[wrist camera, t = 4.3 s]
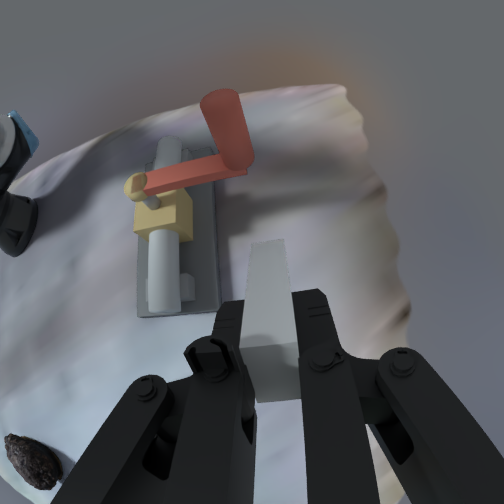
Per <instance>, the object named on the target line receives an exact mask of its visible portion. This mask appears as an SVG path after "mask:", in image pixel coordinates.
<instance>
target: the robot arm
mask: <svg viewBox="0 0 504 504" xmlns="http://www.w3.org/2000/svg"><path fill="white" fill-rule="evenodd" d="M38 146H39V140H38V138H37V137H36V136H35V135H34V133H33V132H32V131H31V130H30V128H29V127H28V126H27V124H26V123H25V122H24V121H23V119H22V118H21V117H20V115H19V114H18V113H17V112H16V111H15V110H12V111H11V112H10V113H8V114H7V116H6V115H3V114H2V115H0V248H1V249H2V250H3V251H4V252H5V253H6V254H8V255H10V256H12V257H15V256H18V255H19V254H20V253H21V252H22V251H23V250H24V248H25V247H26V245H27V244H28V242H29V240H30V238H31V236H32V233H33V231H34V228H35V225H36V221H37V214H38V208H37V204H36V202H35V201H33V200H32V199H31V198H29V197H25V196H20V195H15V194H11V193H9V192H8V191H7V189H8V188H9V186H10V185H11V183H12V182H13V180H14V179H15V178H16V176H17V175H18V173H19V172H20V170H21V169H22V168H23V166H24V165H25V164H26V162H27V161H28V160H29V159H30V158H31V157H32V156H33V153H34V152H35V150H36V149H37V148H38ZM183 354H184V356H185V358H186V360H187V362H188V364H189V366H190V368H191V369H192V371H193V375H191V376H190V377H187V378H184V379H181V380H177V381H173V382H169V383H166V382H165V380H164V379H163V378H162V377H160V376H158V375H146V376H142V377H140V378H138V379H137V380H135V381H134V382H133V383H132V384H131V385H130V386H129V388H128V389H127V391H126V392H125V393H124V395H123V396H122V398H121V399H120V400H119V402H118V403H117V405H116V406H115V408H114V409H113V410H112V412H111V413H110V415H109V416H108V418H107V419H106V421H105V422H104V423H103V425H102V426H101V428H100V429H99V431H98V432H97V434H96V435H95V437H94V438H93V440H92V441H91V442H90V444H89V445H88V447H87V448H86V450H85V451H84V453H83V454H82V456H81V457H80V459H79V460H78V462H77V463H76V465H75V466H74V468H73V469H72V471H71V472H70V474H69V475H68V477H67V478H66V480H65V481H64V483H63V485H62V486H61V488H60V489H59V491H58V492H57V494H56V495H55V497H54V498H53V500H52V502H51V503H50V504H253V497H254V477H255V456H256V433H257V415H256V411H255V408H254V406H255V398H256V401H257V403H263V402H275V401H285V400H294V399H301V401H302V413H303V426H304V440H305V456H306V474H307V497H308V504H380V499H379V493H378V487H377V481H376V475H375V469H374V464H373V459H372V454H371V449H370V444H369V439H368V435H367V430H366V426H365V424H368V426H369V427H370V429H371V431H372V433H373V435H374V436H375V438H376V440H377V442H378V443H379V445H380V447H381V449H382V451H383V452H384V454H385V456H386V458H387V460H388V461H389V463H390V465H391V467H392V469H393V470H394V472H395V474H396V476H397V478H398V479H399V481H400V483H401V485H402V487H403V489H404V490H405V492H406V494H407V496H408V498H409V500H410V501H411V503H412V504H504V458H503V457H502V455H501V454H500V453H499V451H498V450H497V448H496V447H495V446H494V444H493V443H492V441H491V440H490V439H489V437H488V436H487V435H486V433H485V432H484V431H483V429H482V428H481V427H480V425H479V424H478V423H477V422H476V420H475V419H474V418H473V416H472V415H471V414H470V413H469V412H468V410H467V409H466V407H465V406H464V405H463V404H462V403H461V401H460V400H459V399H458V398H457V396H456V395H455V394H454V393H453V391H452V390H451V389H450V388H449V387H448V385H447V384H446V383H445V382H444V381H443V380H442V379H441V377H440V376H439V375H438V374H437V373H436V371H434V369H433V368H432V367H431V366H430V364H429V363H428V362H427V361H426V360H425V359H424V358H423V357H422V356H421V355H420V354H419V353H418V352H416V351H415V350H412V349H410V348H402V347H398V348H394V349H391V350H389V351H387V352H386V353H384V354H383V355H382V357H381V358H380V360H374V359H361V358H356V357H354V356H351V355H350V354H348V353H347V352H345V350H344V349H343V348H342V347H341V344H340V342H339V338H338V335H337V331H336V328H335V324H334V321H333V317H332V315H331V311H330V308H329V304H328V301H327V298H326V295H325V294H323V293H322V292H321V291H320V290H319V289H311V290H305V291H298V292H291V287H290V279H289V272H288V265H287V258H286V251H285V245H284V239H279V240H273V241H266V242H260V243H253V244H251V251H250V260H249V268H248V277H247V285H246V294H245V300H237V301H228V302H224V303H223V305H222V306H221V307H220V308H219V309H218V311H217V314H216V318H215V323H214V327H213V331H212V335H210V336H205V337H201V338H199V339H197V340H195V341H193V342H192V343H191V344H190V345H189V346H188V347H187V348H186V350H185V352H184V353H183Z"/></svg>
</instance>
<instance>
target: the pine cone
mask: <svg viewBox="0 0 504 504" xmlns="http://www.w3.org/2000/svg"><path fill="white" fill-rule="evenodd" d="M4 441H5V443H6V444H5V448H6V450H7V457H8V459H9V460H10V462H11V463H12V464H13V466H14V468H15V469H16V471H17V472H18V473H19V474H20V475H21V476H22V477H23V478H24V480H25V481H26V482H27V483H29V484H30V485H32V486H34V488H36V489H39V490H51V489H52V488H53V487H55V485H56V482H57V480H58V479H59V480H60V479H61V477H62V474H63V472H62V467H61V463H60V461H59V459H58V457H57V456H56V455H55V454H54V453H53V452H52V451H51V450H50V449H49V448H47V447H46V446H44V445H42V444H41V443H39V442H37V441H36V440H33V439H30V438H28V437H25V436H21V437H19V436H17V435H14V434H12V433H11V434H9V435H8V436H5V437H4Z"/></svg>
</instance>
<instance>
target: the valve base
mask: <svg viewBox="0 0 504 504" xmlns="http://www.w3.org/2000/svg"><path fill="white" fill-rule="evenodd" d="M211 155H213V151H212V149H211V147H207V148H203V149H199V150H195V151H191V152H190V151H189V150H188V148H187V149H183V150H182V142H181V140H180V139H179V138H177V137H174V136H166V137H163V138H161V139H160V140H159V141H158V145H157V153H156V157H155V158H154V160H153V162H152V163H148V164H146V167H145V173H146V172H150V171H153V170H157V169H160V168H164V167H167V166H171V165H175V164H178V163H182V162H186V161H190V160H194V159H198V158H202V157H207V156H211ZM133 231H134V232H135V233H136V234H138V235H139V238H138V259H137V317H140V318H151V317H164V316H177V315H188V314H199V313H209V312H217V311H218V309H219V308H220V307H221V306H222V301H221V289H220V276H219V262H218V247H217V231H216V213H215V193H214V181H211V182H207V183H202V184H197V185H193V186H189V187H184V188H180V189H176V190H172V191H168V192H164V193H160V194H156V195H152V196H148V197H147V198H146V199H145V200H143V201H141V202H136V207H135V217H134V229H133Z"/></svg>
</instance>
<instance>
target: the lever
mask: <svg viewBox="0 0 504 504" xmlns="http://www.w3.org/2000/svg"><path fill="white" fill-rule="evenodd" d="M200 108H201V110H202V113H203V115H204V118H205V120H206V122H207V125H208V127H209V129H210V132H211V134H212V136H213V139H214V141H215V143H216V146H217V148H218V151H219V153H220V154H216V155H211V156H207V157H202V158H198V159H194V160H190V161H186V162H182V163H178V164H175V165H171V166H167V167H164V168H160V169H157V170H153V171H150V172H146V173H143V172H138V173H135V174H133V175H132V176H131V177H130V178H129V179H128V180H127V181H126V183H125V186H124V192H125V194H126V195H127V196H128V197H129V198H130V199H131V200H132V201H134V202H141V201H143V200H145V199H146V198H147V197H148V196H152V195H156V194H160V193H164V192H168V191H172V190H176V189H180V188H184V187H189V186H193V185H197V184H202V183H207V182H211V181H216V180H221V179H226V178H231V177H236V176H241V175H246V174H247V168H248V167H249V166H250V165H251V164H252V163H253V161H254V152H253V148H252V144H251V140H250V136H249V132H248V129H247V125H246V121H245V117H244V114H243V110H242V106H241V103H240V99H239V95H238V93H237V92H236V91H234V90H232V89H219V90H215V91H213V92H211V93H209V94H207V95H206V96H205V97H204V98H203V99H202V100H201V102H200Z"/></svg>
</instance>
